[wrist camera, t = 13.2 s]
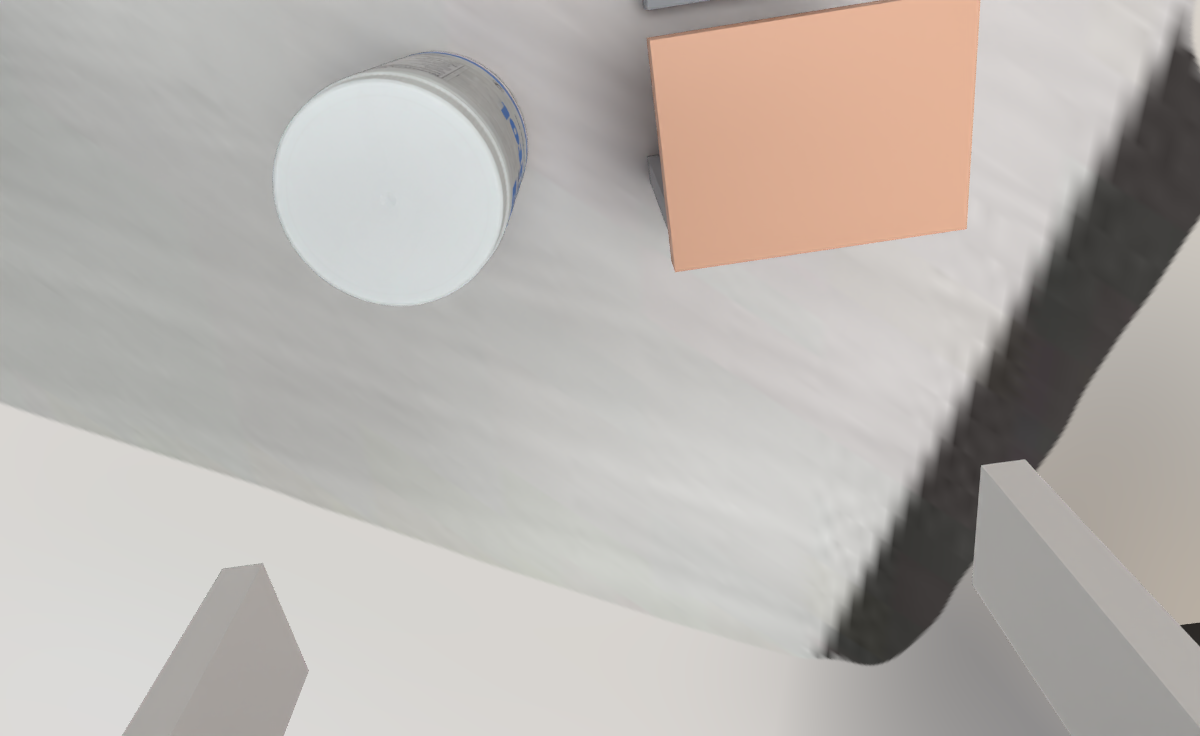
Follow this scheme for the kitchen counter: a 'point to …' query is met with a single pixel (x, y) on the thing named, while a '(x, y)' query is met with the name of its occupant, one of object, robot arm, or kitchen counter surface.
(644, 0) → the socket block
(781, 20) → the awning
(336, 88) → the supplement tub
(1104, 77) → the kitchen counter surface
